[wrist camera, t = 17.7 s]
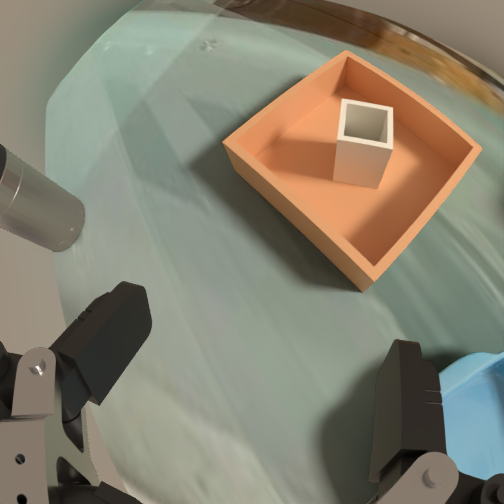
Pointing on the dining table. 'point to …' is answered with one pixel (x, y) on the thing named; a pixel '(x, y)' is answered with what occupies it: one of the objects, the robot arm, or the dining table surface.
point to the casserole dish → (475, 413)
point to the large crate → (323, 161)
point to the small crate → (363, 143)
